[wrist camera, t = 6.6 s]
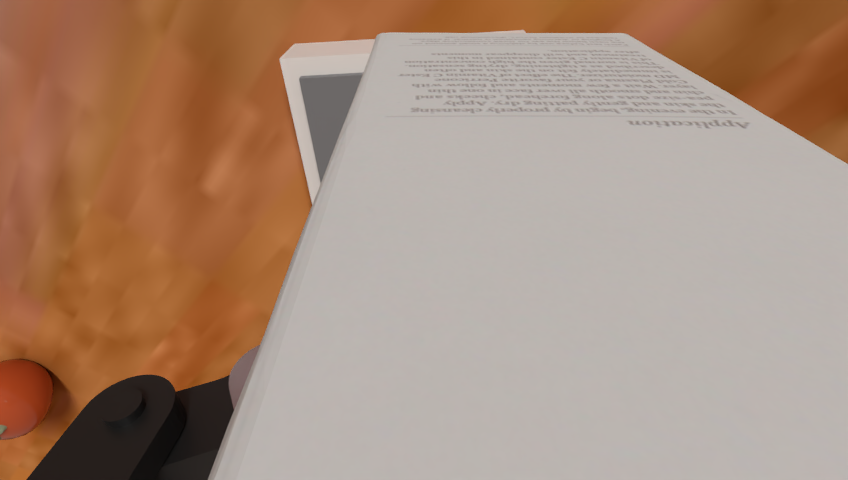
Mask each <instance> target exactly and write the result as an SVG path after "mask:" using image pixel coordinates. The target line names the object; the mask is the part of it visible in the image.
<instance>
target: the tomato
mask: <svg viewBox="0 0 848 480" xmlns="http://www.w3.org/2000/svg"><path fill="white" fill-rule="evenodd" d="M52 398H53V382H52V379H51V376H50V374H49V372H48V371H47V370H46V369H45V368H43V367H42V366H41V365H39V364H37V363H35V362H32V361H29V360H24V359H14V360H5V361H1V362H0V440H7V439H13V438H17V437H20V436H24V435H26V434H28V433H29V432H31V431H33V430H34V429H35V428H36V427H37V426H38V425H39V424H40V423H41V422H42V421H43V420H44V419H45V417H46V415H47V413H48V411H49V409H50V405H51V402H52Z"/></svg>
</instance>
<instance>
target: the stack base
mask: <svg viewBox="0 0 848 480" xmlns="http://www.w3.org/2000/svg"><path fill="white" fill-rule="evenodd" d="M482 33H526V32H525V31H524V30H515V31H499V32H482ZM374 42H375V39H367V40H351V41H334V42H318V43H301V44H294V45H293V46H292V47H291V48H290V49H289V50H288V51H287V52H286V53H285V54H284V55H283V56H282V57H281V58H280V64H281V68H282V72H283V77H284V81H285V86H286V90H287V95H288V99H289V104H290V108H291V112H292V117H293V121H294V126H295V130H296V135H297V139H298V143H299V148H300V152H301V157H302V161H303V166H304V170H305V175H306V179H307V183H308V188H309V192H310V197H311V201H312V205H313V202H314V200H315V197H316V195H317V192H318V189H319V187H320V184H321V182H322V179H323V176H324V174H325V171H326V169H327V166H328V163H329V161H330V158H331V155H332V153H333V150H334V148H335V145H336V142H337V140H338V137H339V134H340V132H341V129H342V127H343V124H344V122H345V119H346V117H347V114H348V112H349V109H350V106H351V104H352V101H353V99H354V96H355V93H356V91H357V88H358V86H359V83H360V80H361V78H362V75H363V72H364V70H365V67H366V64H367V62H368V59H369V56H370V54H371V51H372V48H373V45H374Z"/></svg>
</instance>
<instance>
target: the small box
mask: <svg viewBox="0 0 848 480" xmlns="http://www.w3.org/2000/svg"><path fill="white" fill-rule="evenodd" d="M208 480H848V164H847V163H845V162H843V161H841V160H840V159H838V158H836V157H835V156H833V155H831V154H830V153H828V152H826V151H825V150H823V149H821V148H820V147H818V146H816V145H815V144H813V143H811V142H810V141H808V140H806V139H805V138H803V137H801V136H800V135H798V134H796V133H795V132H793V131H791V130H790V129H788V128H786V127H784V126H783V125H781V124H779V123H778V122H776V121H774V120H772V119H771V118H769V117H767V116H766V115H764V114H762V113H761V112H759V111H757V110H756V109H754V108H752V107H751V106H749V105H747V104H746V103H744V102H742V101H741V100H739V99H737V98H736V97H734V96H732V95H731V94H729V93H728V92H726V91H724V90H722V89H721V88H719V87H717V86H715V85H713V84H712V83H710V82H708V81H707V80H705V79H703V78H702V77H700V76H698V75H696V74H695V73H693V72H691V71H689V70H688V69H686V68H684V67H682V66H680V65H679V64H677V63H675V62H674V61H672V60H670V59H668V58H667V57H665V56H663V55H661V54H660V53H658V52H656V51H654V50H653V49H651V48H649V47H648V46H646V45H645V44H643V43H641V42H640V41H638V40H636V39H635V38H633V37H631V36H629V35H627V34H624V33H381V34H378V35H377V37H376V39H375V42H374V45H373V48H372V51H371V54H370V56H369V59H368V62H367V64H366V67H365V70H364V72H363V75H362V78H361V80H360V83H359V86H358V88H357V91H356V93H355V96H354V99H353V101H352V104H351V106H350V109H349V112H348V114H347V117H346V119H345V122H344V124H343V127H342V129H341V132H340V134H339V137H338V140H337V142H336V145H335V148H334V150H333V153H332V155H331V158H330V161H329V163H328V166H327V169H326V171H325V174H324V176H323V179H322V182H321V184H320V187H319V189H318V192H317V195H316V197H315V200H314V202H313V205H312V208H311V210H310V213H309V216H308V218H307V221H306V223H305V226H304V229H303V231H302V234H301V236H300V239H299V242H298V244H297V247H296V249H295V252H294V255H293V257H292V260H291V263H290V266H289V268H288V271H287V274H286V277H285V279H284V282H283V285H282V288H281V290H280V293H279V296H278V299H277V301H276V304H275V307H274V310H273V312H272V315H271V318H270V321H269V324H268V326H267V329H266V332H265V335H264V337H263V340H262V342H261V345H260V347H259V350H258V352H257V355H256V357H255V360H254V362H253V365H252V367H251V370H250V372H249V375H248V377H247V380H246V382H245V385H244V387H243V390H242V392H241V395H240V397H239V400H238V402H237V405H236V407H235V410H234V412H233V415H232V417H231V420H230V422H229V425H228V427H227V430H226V432H225V435H224V438H223V440H222V443H221V446H220V448H219V451H218V454H217V456H216V459H215V462H214V464H213V467H212V470H211V472H210V475H209V478H208Z"/></svg>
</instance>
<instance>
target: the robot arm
mask: <svg viewBox="0 0 848 480" xmlns="http://www.w3.org/2000/svg"><path fill="white" fill-rule="evenodd" d="M259 347H260V345H259V346H257V347H255V348H253V349H251V350H250V351H248V352H247V353H246V354H244V355H243V356H242V357H241V358H240V359H239V360H238V362H237V363H236V364H235V366H234V367H233V369H232V371H231V374H230V375H229V376H226V377H224V378H222V379H219V380H216V381H212V382H209V383H205V384H202V385H198V386H195V387H191V388H188V389H184V390H181V391H177V392H176V391H175V389H174V387H173V385H172V384H171V383H170V382H169V381H168V380H167V379H165V378H163V377H161V376H157V375H140V376H135V377H131V378H128V379H125V380H122V381H120V382H118V383H116V384H114V385H112V386H110V387H108V388H107V389H105V390H103V391H102V392H101V393H99V394H98V395H97V396H96V397H94V398H93V399H92V400H91V401H90V402H89V403H88V404H87V405H86V406H85V408H84V409H83V410H82V411H81V412H80V414H79V415H78V416H77V417H76V419H75V420H74V421H73V422H72V424H71V425H70V426H69V427H68V429H67V430H66V431H65V432H64V434H63V435H62V436H61V437H60V439H59V440H58V441H57V442H56V444H55V445H54V446H53V447H52V449H51V450H50V451H49V452H48V454H47V455H46V456H45V457H44V459H43V460H42V461H41V462H40V464H39V465H38V466H37V467H36V468H35V470H34V471H33V472H32V473H31V475H30V476H29V477H28V478H27V480H208V478H209V475H210V472H211V470H212V467H213V464H214V462H215V459H216V456H217V454H218V451H219V448H220V446H221V443H222V440H223V438H224V435H225V432H226V430H227V427H228V425H229V422H230V420H231V417H232V415H233V412H234V410H235V407H236V405H237V402H238V400H239V397H240V395H241V392H242V390H243V387H244V385H245V382H246V380H247V377H248V375H249V372H250V370H251V367H252V365H253V362H254V360H255V357H256V355H257V352H258V350H259Z"/></svg>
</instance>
